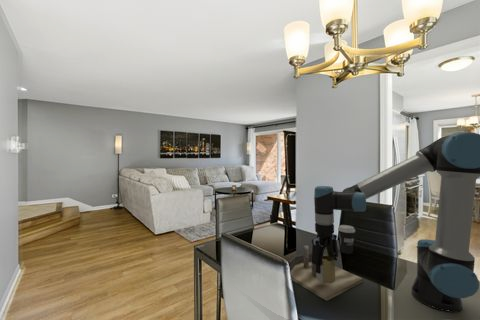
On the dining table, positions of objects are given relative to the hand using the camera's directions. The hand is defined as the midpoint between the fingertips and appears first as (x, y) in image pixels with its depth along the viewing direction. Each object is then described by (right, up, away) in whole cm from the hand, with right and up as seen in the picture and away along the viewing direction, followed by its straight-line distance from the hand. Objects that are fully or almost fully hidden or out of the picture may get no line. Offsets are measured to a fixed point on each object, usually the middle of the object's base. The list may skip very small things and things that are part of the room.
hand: (325, 277), depth 97 cm
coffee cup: (+28, -6, +41) cm, 50 cm away
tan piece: (0, -1, 0) cm, 1 cm away
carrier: (+2, -6, +11) cm, 13 cm away
